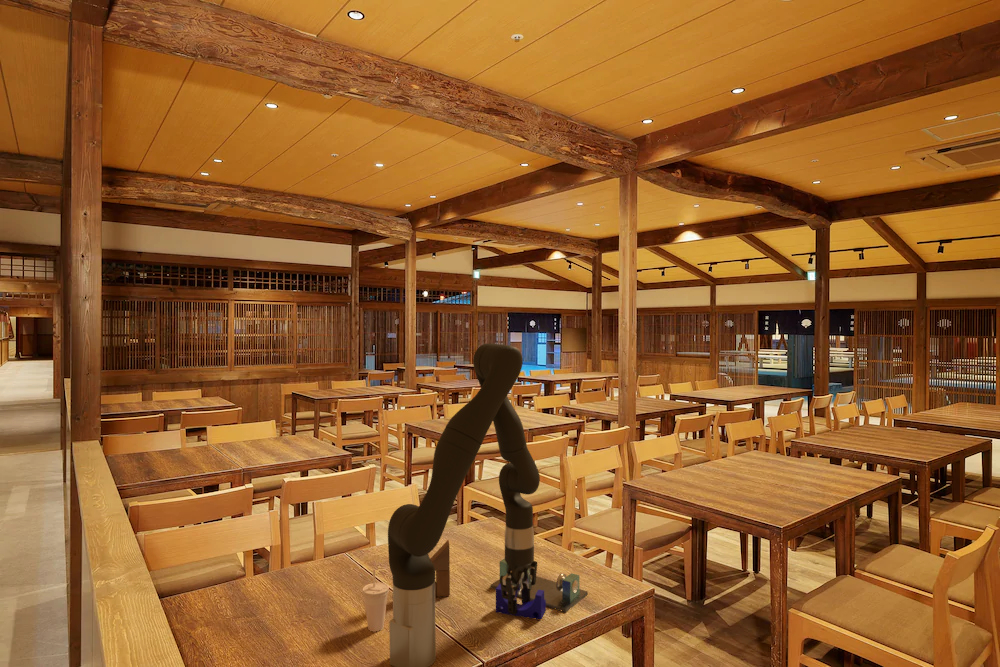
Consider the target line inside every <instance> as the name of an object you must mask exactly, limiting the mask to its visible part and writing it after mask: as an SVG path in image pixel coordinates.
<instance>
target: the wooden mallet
mask: <svg viewBox="0 0 1000 667" xmlns="http://www.w3.org/2000/svg"><path fill="white" fill-rule="evenodd" d="M429 558H430V560H431V562H432V563H433V565H434V567H435V598H436V597H437V598H440V596H443V597H449V596H450V595H451V590H450V589H451V587H450V586H451V584H450V583H451V578H450V576H451V574H450V572H451V571H450V569H451V568H450V566H451V565H450V564H451V562H450V540H449V539H448V540H446V541H445V542H444V543H443V545H441V547H440V548H439V549H438V550H437V551H435V553H434V554H433V555H432V556H431V557H429Z"/></svg>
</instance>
